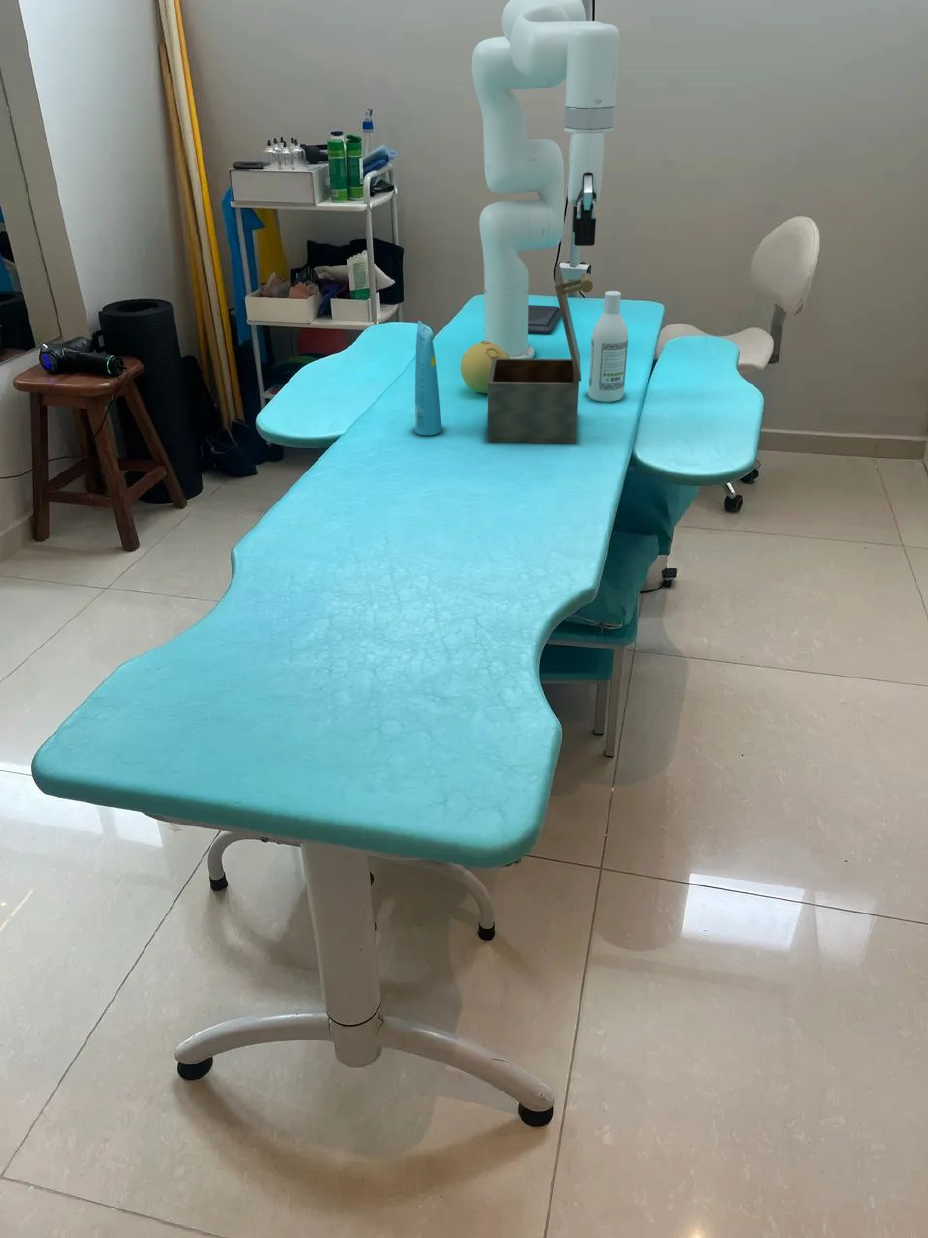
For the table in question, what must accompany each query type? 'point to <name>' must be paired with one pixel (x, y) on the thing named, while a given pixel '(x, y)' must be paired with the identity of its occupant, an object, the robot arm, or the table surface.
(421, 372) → the tube
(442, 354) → the table surface
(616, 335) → the bath foam
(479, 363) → the stress ball
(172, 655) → the table surface
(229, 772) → the table surface
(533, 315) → the wallet
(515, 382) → the chest
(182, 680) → the table surface
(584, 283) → the lid
